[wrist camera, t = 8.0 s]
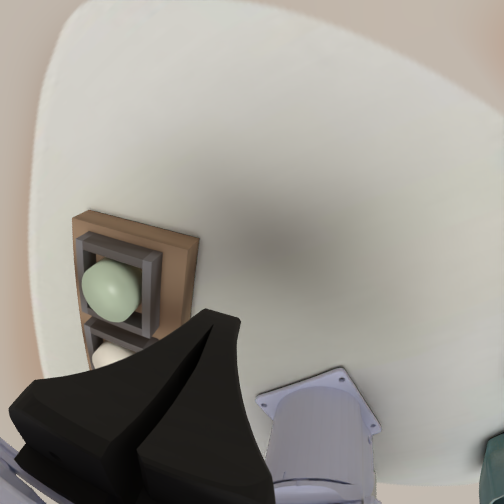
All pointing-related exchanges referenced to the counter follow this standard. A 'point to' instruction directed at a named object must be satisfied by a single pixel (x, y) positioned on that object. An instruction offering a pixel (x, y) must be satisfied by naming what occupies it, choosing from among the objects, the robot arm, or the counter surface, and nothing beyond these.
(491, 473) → the flower pot
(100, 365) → the cream button
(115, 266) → the sage button
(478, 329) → the counter surface
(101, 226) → the button board
